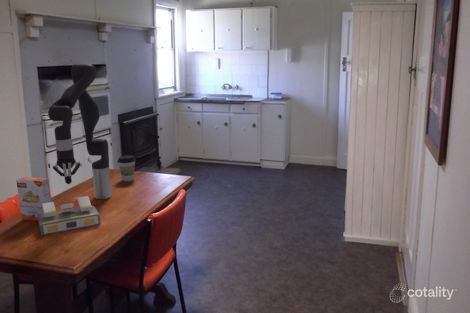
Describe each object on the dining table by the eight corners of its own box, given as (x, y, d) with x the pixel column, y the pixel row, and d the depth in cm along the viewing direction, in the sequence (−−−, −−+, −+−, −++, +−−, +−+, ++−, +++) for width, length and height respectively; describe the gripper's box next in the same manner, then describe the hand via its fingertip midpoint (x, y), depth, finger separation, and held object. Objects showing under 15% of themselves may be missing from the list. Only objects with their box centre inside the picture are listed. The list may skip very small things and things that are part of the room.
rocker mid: (61, 210, 220) (60, 205, 220) (72, 208, 222) (71, 204, 222) (62, 208, 212) (62, 204, 212) (74, 207, 214) (73, 202, 214)
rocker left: (42, 207, 216) (42, 203, 215) (53, 205, 218) (53, 201, 217) (44, 217, 209) (44, 213, 208) (56, 215, 211) (56, 211, 210)
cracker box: (21, 220, 224) (15, 179, 219) (28, 216, 229) (23, 176, 225) (46, 222, 221) (41, 180, 216) (53, 217, 227) (48, 177, 222)
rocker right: (77, 200, 223) (77, 197, 222) (88, 199, 225) (87, 195, 224) (81, 211, 216) (80, 208, 215) (91, 210, 219) (91, 206, 217)
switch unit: (39, 225, 217) (37, 214, 216) (94, 215, 229) (93, 204, 227) (41, 235, 205) (40, 224, 204) (100, 224, 216) (99, 213, 215)
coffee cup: (116, 182, 286) (114, 158, 282) (123, 177, 297) (121, 154, 293) (133, 182, 284) (131, 159, 280) (139, 177, 295) (138, 155, 291)
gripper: (78, 145, 219) (81, 179, 223) (48, 148, 214) (53, 183, 218) (80, 148, 213) (84, 183, 217) (50, 151, 207) (54, 187, 211)
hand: (68, 183), depth 217 cm, fingers closed
